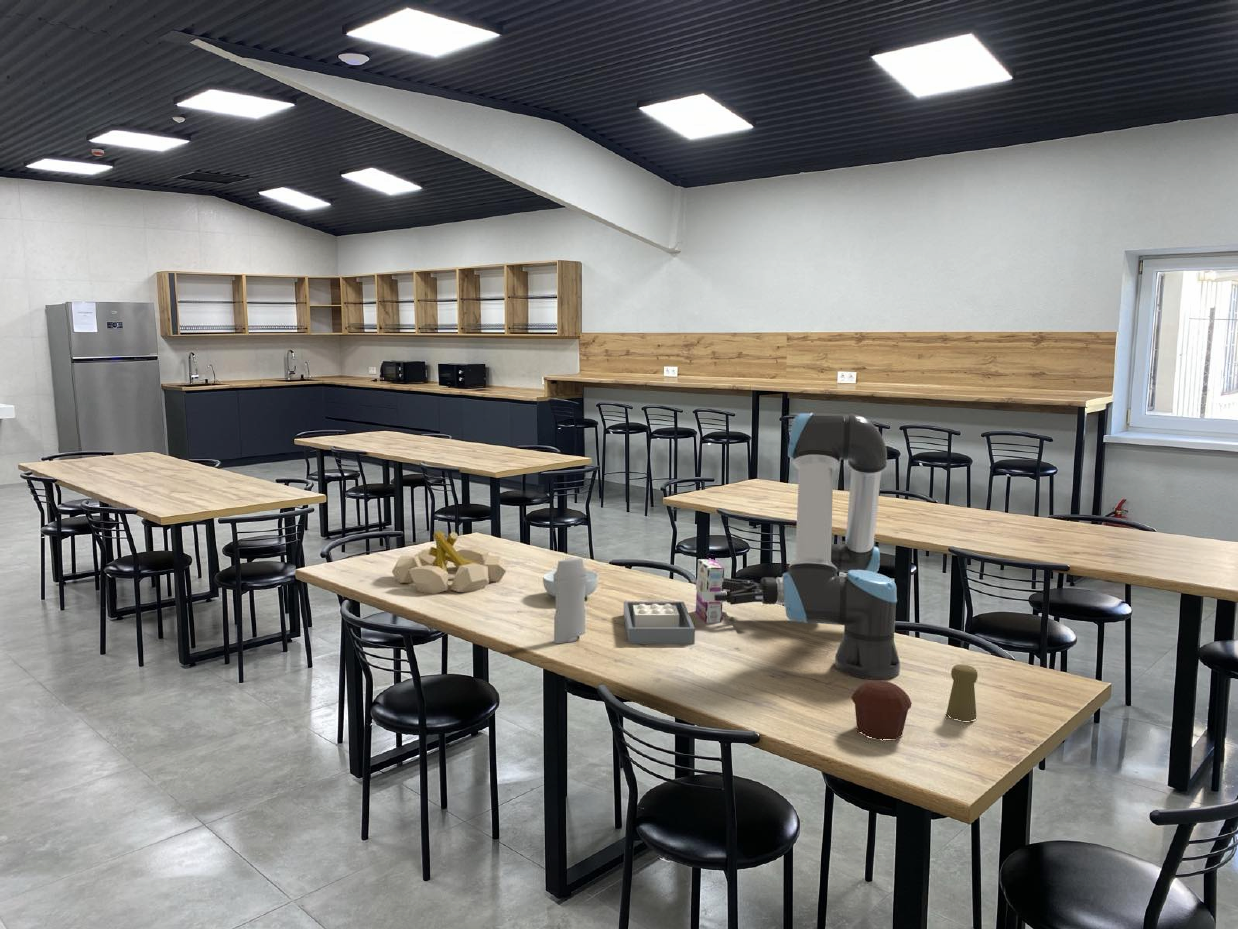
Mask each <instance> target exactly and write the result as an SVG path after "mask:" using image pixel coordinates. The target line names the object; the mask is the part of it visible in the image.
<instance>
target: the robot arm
mask: <svg viewBox="0 0 1238 929" xmlns="http://www.w3.org/2000/svg"><path fill="white" fill-rule="evenodd" d="M787 457H789V458H790V459H793V460H792V461H793V462H792V463H793V466H794V467H795V468H796V469H797V470H798V483H797V486H798V487H797V510H796V511H797V512H796V531H795V532H796V533H795V534H796V535H795V536H796V537H795V538H796V539H795V540H796V541H795V559H794V560H793V562H792V563H790V564H789V565H788V571H787V572H784V573H782V576H781V577H779V576H777V577H776V578H775V577H773V576H772V577H769V576H768V577H762V578H761V579H760V582H759V583H756V582H755V581H754V580H753V579H750V580H749V579H736V578H727V577H724V585H723V590H724V591H723V592H707V591H702V602H723V603H728V604H729V605H732V606H733V605H739V604H747V603H761V604H763V605H775V604H777V605H783V606H784V610H785V615H786V617H787V619H789V620H790V621H792V622H798V623H799V622H800V623H804V624H809V623H811V624H823V625H835V626H836V625H837V626H839V625H840V626H844V628H843V636H842V638H841V641H840V644H839V646H838V648H837V651H836V652H835V653H836V654H835V658H834V659H835V660H834V666H835V668H836V669H837V670H838V671H840V672H842V673H843V674H846V675H848V674H849V676H852V677H856V678H860V679H866V678H868V679H867V680H887V679H892V678H895V677H896V676H898V675H899V674H900V673H901V672H900V671H901V660H900V658H899V654H898V650H897V646H896V644H895V629H896V627H895V626H896V625H895V624H896V623H895V622H896V610H897V608H896V606H897V602H898V598H897V585H896V583H895V581H894V580H893V579H892V578H890V577H888V576H886V575H884V574H881V573H878V571H879V568H880V560H881V557H880V556H881V553H880V548H879V547H878V546H874V545H875V544H874V543H875V534H876V527H877V526H876V525H877V517H878V516H877V515H878V506H879V505H878V504H879V499H880V498H879V496H880V486H881V478H882V472H884V471H885V470H886V468H887V461H888V460H887V459H888V451H887V446H886V443H885V440H884V438H883V436H882V434H881V432H880V431H879V429H878V427H876V426H875V425H874V424H873V423H872V422H871V421H870V420H868V419H867V418H866V417H863V416H861V415H858V414H850V413H849V414H843V413H842V414H840V413H836V414H835V413H814V412H811V413H798V414H796V416H795V417H794V418H793V421H792V426H791V431H790V437H789V442H788V450H787ZM840 460H844V461H845V460H847V463H848V466H849V468H850V469H851V474H850V486H849V495H848V496H849V497H848V509H847V519H846V520H847V522H846V531H845V532H846V533H845V544H835V543H834V544H832V534H833V528H832V526H833V525H832V524H833V494H834V493H833V492H834V491H833V489H834V485H833V484H834V471H835V470H836V469H838V468H839V466H840ZM838 572H840V573H841V572H843V573H846V576H841V575H840V576H839V575H838ZM695 590H696V591H697V579H696V582H695Z"/></svg>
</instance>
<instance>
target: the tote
mask: <svg viewBox="0 0 1238 929" xmlns="http://www.w3.org/2000/svg"><path fill="white" fill-rule="evenodd" d="M639 604H645V605H652V604H658V605H665V604H671V605H676V608H677V610H678V613H679V627H635V626H634V621H633V605H639ZM622 616H623V620H624V626H625V632H626V638H627V642H628V643H627V644H628V645H641V644H642V645H645V644H646V645H657V644H658V645H661V644H662V645H667V644H668V645H693V644H696V642H695V641H696V640H695V638H696V636H695V635H696V627H695V626H694V623H693V620H692V618H691V616H690V613H689V611H688V608H687V607H686V603H685V602H684V601H654V600H653V601H643V600H642V601H636V600H634V601H630V600H629V601H628V600H627V601H626V600H625V601H623V615H622Z"/></svg>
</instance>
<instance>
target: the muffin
mask: <svg viewBox="0 0 1238 929" xmlns="http://www.w3.org/2000/svg"><path fill="white" fill-rule="evenodd" d="M850 700H851V701H852V702H853V704H854V710H855V719H856V720H855V723H856V728H857V727H858V728H857V731H859V732H862V733H863V734H865V735H866V736H869V737H872V738H876V739H882V740H883V739H896V738H897V737H899V736H901V735H902V736H903V733H904V728H905V724H906V721H907V716H908V711H909V710H910V709H911V707H912V705H913V703H912V701H911V699H910V696H909V695H908V693H906V692H905V690H904V689H902V688H901V687H900V686H898V685H897V684H895V683H892V682H890V681H885V680H871V681H868V682H866V683H863V684H862V683H861V685H859V686H858V687H857V688H856V689H855V690H854V692H853V693H852V695H851V697H850ZM866 736H865V737H866ZM902 736H901V737H902ZM899 738H900V737H899ZM876 739H875V740H876ZM897 739H898V738H897ZM897 739H896V740H897Z"/></svg>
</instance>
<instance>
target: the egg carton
mask: <svg viewBox="0 0 1238 929" xmlns="http://www.w3.org/2000/svg"><path fill="white" fill-rule="evenodd" d="M633 621H634V626H635V627H679V613H678V610H677V608H676V605H671V604H665V605H658V604H652V605H645V604H639V605H633Z"/></svg>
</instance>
